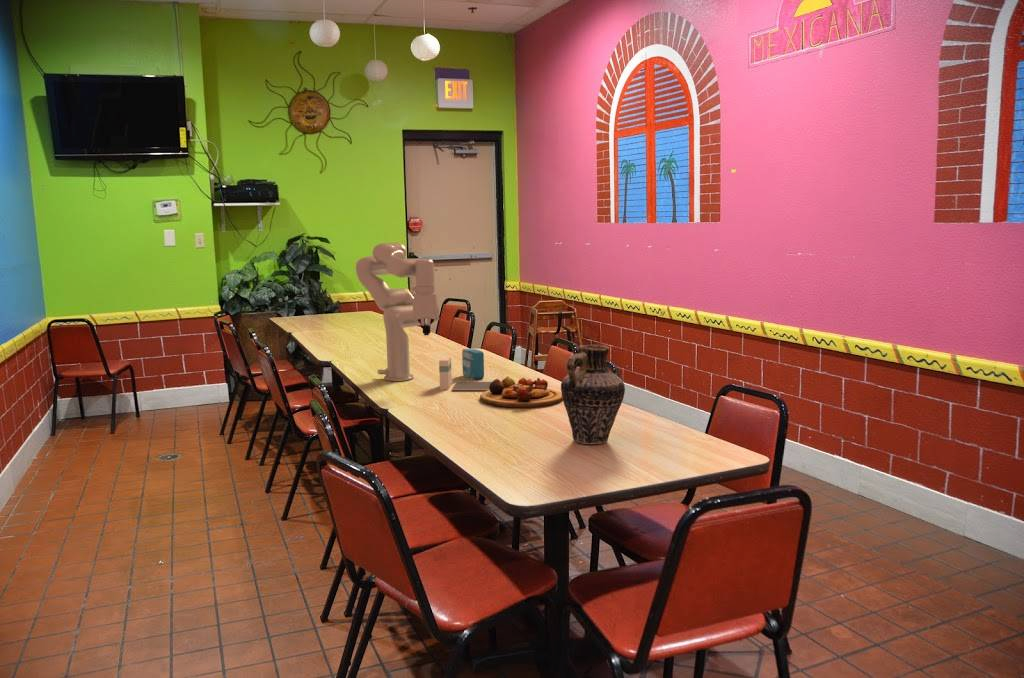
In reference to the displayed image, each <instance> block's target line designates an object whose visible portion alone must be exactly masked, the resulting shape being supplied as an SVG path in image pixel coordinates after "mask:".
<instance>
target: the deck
mask: <svg viewBox="0 0 1024 678" xmlns="http://www.w3.org/2000/svg"><path fill="white" fill-rule="evenodd" d="M438 363H439V367H438V372H439V373H438V374H439V390H440V389H449V390H450V388H451V387H452V385H453V383H452V381H453V380H452V379H453V378H452V356H442V357H441V358H440V359H439V360H438ZM450 386H451V387H450Z"/></svg>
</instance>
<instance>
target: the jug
mask: <svg viewBox="0 0 1024 678" xmlns="http://www.w3.org/2000/svg"><path fill="white" fill-rule="evenodd" d="M578 348H579V351H580V352H579V353H578V354H577V353H574V354H572V355H570V356H569V357H568V359H567V362H566V369H567V375H566V376H565V377H564V378H563V379H562V381H561V383H560V392H561V393H562V398H563V400H562V402H563V405H564V408H565V410H566V413H567V417H568V422H569V424H570V428H571V432H572V433H571V436H572V439H573V441H574V442H576V443H579V444H583V445H590V446H591V445H602V444H604V443H607V442H608V439H609V437H610V434H611V431H612V427H613V425H614V423H615V420H616V418H617V415H618V412H619V410H620V408H621V405H622V404H623V401H624V397H625V392H626V388H625V383H624V381H623V379H622V378H621V377H619V375H617V374H615V373H613V372H612V371H611V370H609V369H608V367H607V357H608V355H609V350H610V347H609V346H608V345H604V344H582V345H578ZM576 360H579V361H580V365H579V368H578V369H576V370H575V366H576V365H575V363H576Z"/></svg>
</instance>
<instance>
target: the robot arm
mask: <svg viewBox="0 0 1024 678" xmlns="http://www.w3.org/2000/svg"><path fill="white" fill-rule="evenodd" d="M355 273H356V276H357V279H358V281H359V283H360V284H361V285H362V287H364V289H366V290H367V292H368V293H369V294H370V296H371V298H372V299H373V301H374V302H375V304H376V305H377V307H378V308H379V309H380V310H381V311H383V315H382V317H383V319H382V320H383V323H384V328H385V339H386V361H387V368H385V369H377V373H378V375H385V376H384V377H383V379H384V380H385V381H387V382H406V381H411V380H413V379H414V374H411V372H410V371H411V369H410V365H411V363H410V342H409V341H410V340H409V339H410V338H409V335H408V334H407V332H406V331H405V330H404V329H406V328H412V327H413V328H415V327H418V326H420V325H421V326H422V334H423V335H424V336H430V334H431V325H432V324H433V323H434V322H437V321H439V320H440V316H439V313H440V310H439V300H438V295H437V292H436V290H435V289H436V288H435V265H434V261H433V259H430V258H429V259H427V258H419V257H418V258H416V257H415V258H407V249H406V247H405V246H404V245H403V244H402V243H399V242H382V243H379V244H376V245H375V246H374V247H373V250H372V255H371V256H365V257H361V258H360V259H358V260H357V262H356V263H355ZM382 275H383V276H384V275H393V276H394V277H397V278H415V286H414V287H412V288H411V289H412V292H413V291H414V292H415V293H413V294H412V293H411V291H410V290H407V289H405V288H395V289H394V288H390V286H388V284H387V283H386V281H384V280H383V278H380V277H379V276H382ZM426 319H427V323H426Z"/></svg>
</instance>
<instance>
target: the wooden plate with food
mask: <svg viewBox="0 0 1024 678" xmlns="http://www.w3.org/2000/svg"><path fill="white" fill-rule="evenodd" d="M490 382H491V384H490V386H489V389H490V390H488V391H482V392H481V394H480V396H479V397H480V400H481V402H483V403H485V404H488V405H491V406H496V407H502V408H503V407H504V408H521V409H522V408H525V409H526V408H540V407H548V406H554V405H556V404H559V403H561V402H563V398H562V392H561V391H558V390H556V389H551V388H548V381H547V380H546V379H545V378H543V379H540V377H537V379H536V380H534V381H533V380H532V379H527V378H525V377H522V378H520V379H519V380H518V382H517V383H516V382H515V380H514V379H513V378H511V377H510V376H507V377H504V378H503V379H502V380H500V379H499V378H496V379H494V380H492V381H490Z"/></svg>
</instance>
